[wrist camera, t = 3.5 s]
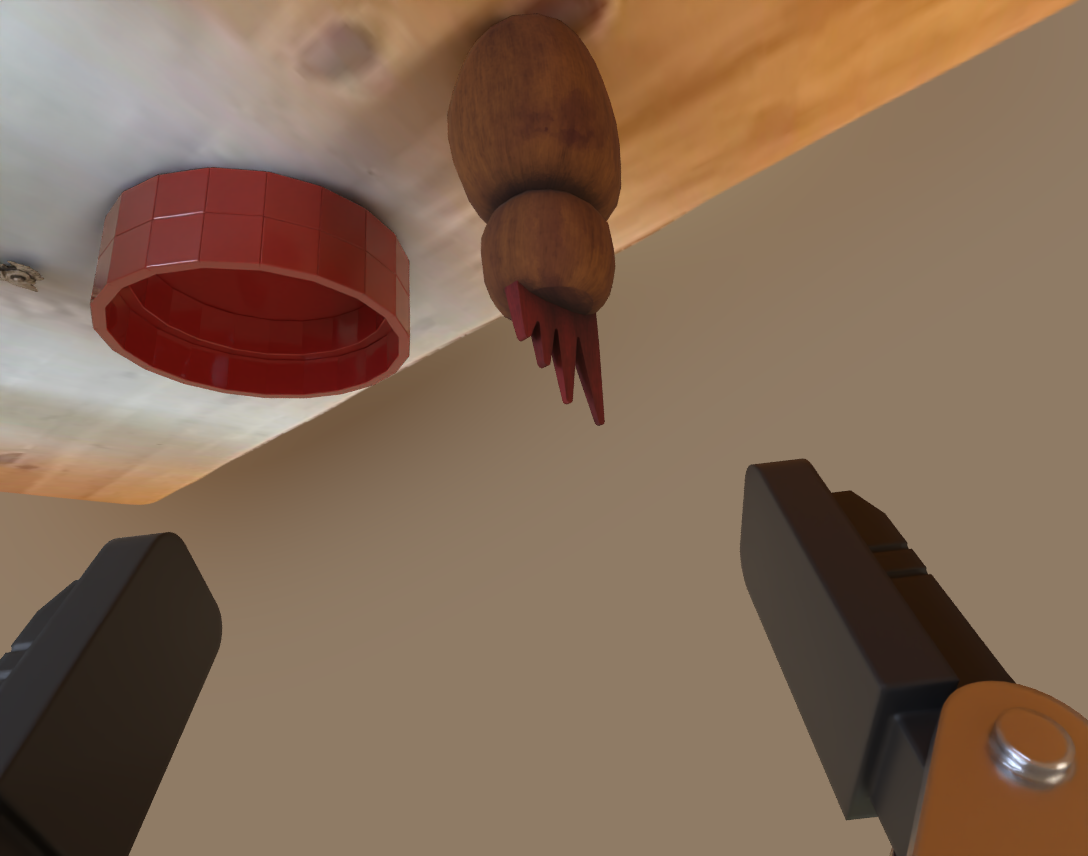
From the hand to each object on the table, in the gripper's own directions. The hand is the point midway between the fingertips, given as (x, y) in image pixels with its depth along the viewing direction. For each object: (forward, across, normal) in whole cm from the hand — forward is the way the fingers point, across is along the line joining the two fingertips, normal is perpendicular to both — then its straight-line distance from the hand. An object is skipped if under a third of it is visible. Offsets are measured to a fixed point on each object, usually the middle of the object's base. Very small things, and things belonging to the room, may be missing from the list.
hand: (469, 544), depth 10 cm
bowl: (+30, +13, +4) cm, 33 cm away
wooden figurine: (+23, -2, -5) cm, 23 cm away
